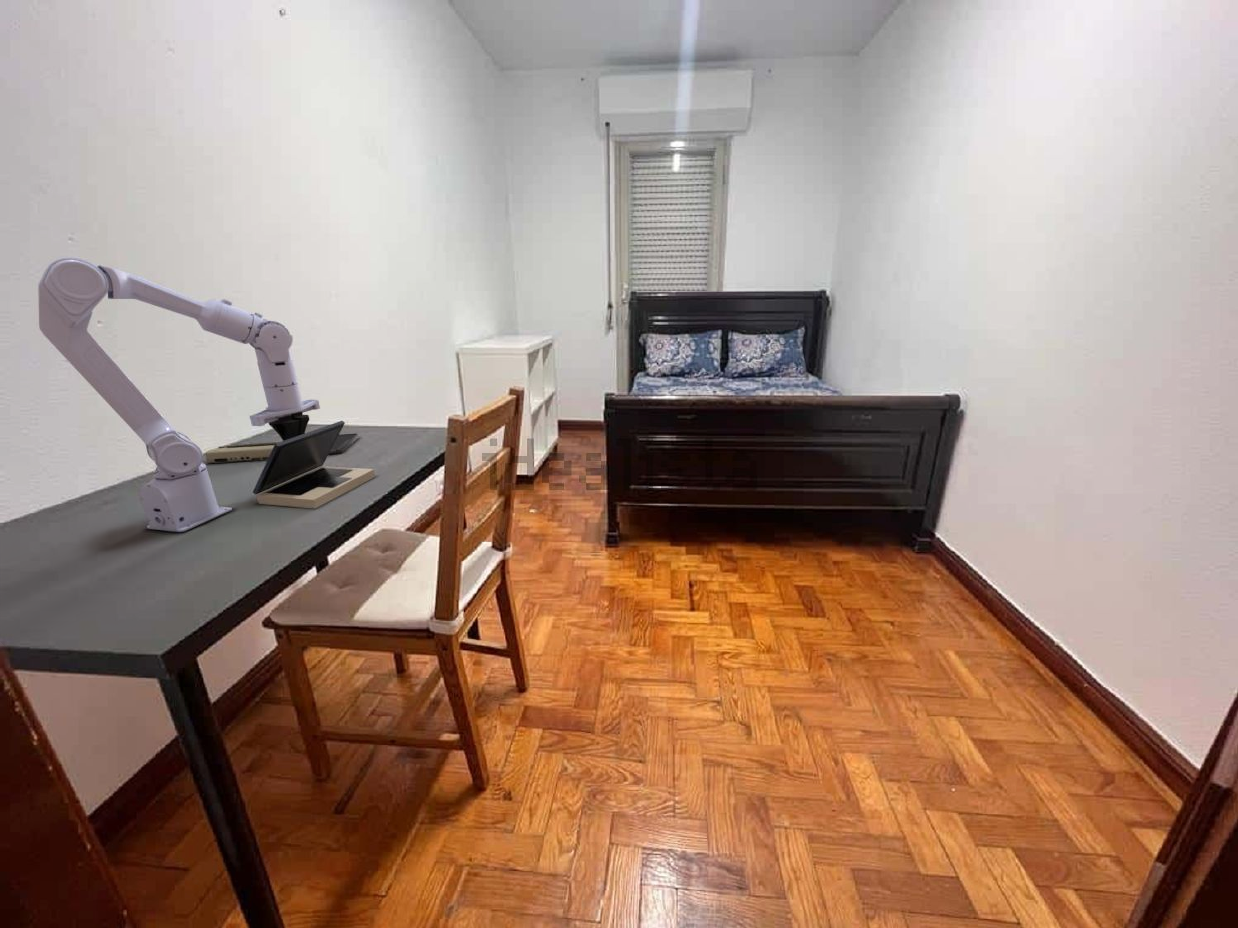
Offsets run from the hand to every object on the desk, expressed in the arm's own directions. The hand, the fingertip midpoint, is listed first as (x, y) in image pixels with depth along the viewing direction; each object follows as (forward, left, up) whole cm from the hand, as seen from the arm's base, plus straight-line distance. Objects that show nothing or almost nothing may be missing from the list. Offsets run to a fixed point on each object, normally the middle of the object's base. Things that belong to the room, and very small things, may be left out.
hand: (296, 452), depth 104 cm
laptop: (0, -4, -8) cm, 9 cm away
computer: (+16, +31, -8) cm, 36 cm away
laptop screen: (0, -1, -1) cm, 2 cm away
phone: (+27, +16, -8) cm, 32 cm away
